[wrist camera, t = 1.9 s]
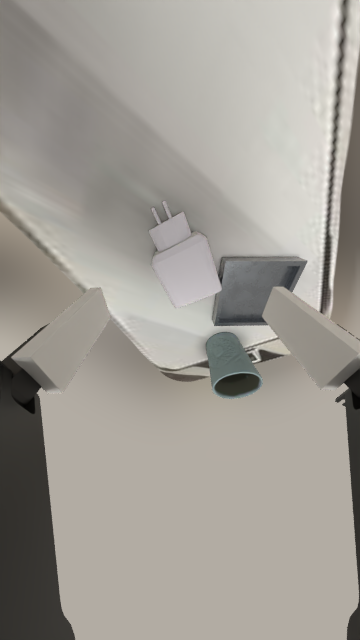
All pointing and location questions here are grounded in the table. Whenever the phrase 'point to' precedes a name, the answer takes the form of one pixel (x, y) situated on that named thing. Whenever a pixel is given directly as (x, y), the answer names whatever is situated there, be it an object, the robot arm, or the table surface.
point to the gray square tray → (252, 287)
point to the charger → (183, 260)
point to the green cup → (231, 367)
